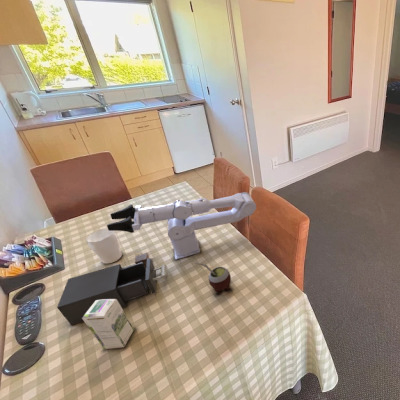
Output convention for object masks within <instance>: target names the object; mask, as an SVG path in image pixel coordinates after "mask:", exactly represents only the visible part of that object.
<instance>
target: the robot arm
mask: <svg viewBox="0 0 400 400" xmlns="http://www.w3.org/2000/svg"><path fill="white" fill-rule="evenodd" d="M251 195H252V194H250V193H249V192H246V191H243V192H237V193H235V194H233V195H229V196H225V197H219V198H216V199H211V200H209V199H207V198H204V197H199V198H198V199H193V200H185V201H184V200H181V199H176V200H175V201H174V202H172V203H169V204H163V205H156V206H150V207H144V208H143V207H142V205H135V206H134V205H133V204H129V205H128V206H126V207H123V208H122V209H120V210H117V211H114V212H112V213H110V218H111V220H119V221H115V222H111V223H108V224H107V225H106V228H108V230H109V231H114V232H125V233H126V232H127V233H130V234H133V233H135V231H140V230H141V227H142V226H143V225H145V224H152V223H156V222H157V223H158V222H163V221H167V237H168V238H169V240H170V243H171V246H172V249H173V251H174V260H179V259H180V260H181V259H183V258H186V257H190V256H193V255H196V254H200V253H201V249H200V242H199V240H198V238H197V237H198V236H197V234H196V231H198V230H203V229H204V230H205V229H208V228H209V229H210V228H212V227H213V228H214V227H219V226H222V225H228V224H232V223H237V222H240V221H242V220H244V219H245V218H247V217H249V216H253V215H254V213H255V212H256V210H257V204H256V202H255V201H254V200H253V198H252V196H251ZM222 208H231V209H229V210H224V211H218V212H213V213H210V211H211V210H213V209H222ZM206 213H208V214H206ZM196 215H197V216H196Z"/></svg>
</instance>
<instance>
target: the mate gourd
mask: <svg viewBox="0 0 400 400" xmlns="http://www.w3.org/2000/svg"><path fill="white" fill-rule="evenodd" d="M194 264H195V265H199V266H200V265H201V266H203V267H204V268H206V269H207V270H208V271H209V274H208V282H209V285H210V286H211V287H212V289H213V290H214V291H215V292H216V293H215V294H216V295H217V296H219V295H220V294H221V293H222V291H227V292H231V288H230V283H231V279H232V277H231V273H230V271H229V270H228V269H227V268H226V267H225V266H224V267H223V266H218V267H217V266H216V267H215V268H213V269H211V268H210V267H209V266H208V265H207V263H202V262H194Z"/></svg>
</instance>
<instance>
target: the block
mask: <svg viewBox="0 0 400 400" xmlns="http://www.w3.org/2000/svg"><path fill="white" fill-rule="evenodd" d="M149 258H150V256H149V254H148V252H145V253H141V254H137V255H135V258H134V264H138V263H141V262H143V264H144V266H145V268H146V261H147V259H149Z"/></svg>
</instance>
